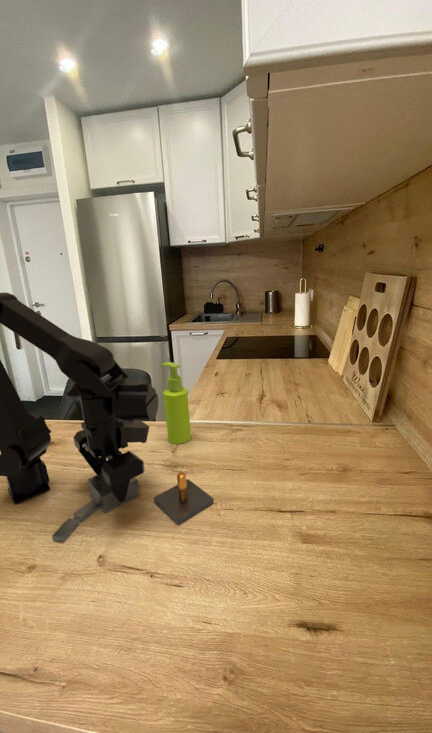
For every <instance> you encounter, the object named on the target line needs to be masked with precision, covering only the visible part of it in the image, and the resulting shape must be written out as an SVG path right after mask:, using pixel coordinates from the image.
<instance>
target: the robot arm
mask: <svg viewBox="0 0 432 733" xmlns="http://www.w3.org/2000/svg"><path fill="white" fill-rule="evenodd" d="M0 324H1V325H2V326H4V327H5V328H7V329H8V330H10V331H12V332H13V333H15V334H16V335H18V336H19V337H21V338H22V339H23V340H25V341H27V342H28V343H30V344H32V345H33V346H34V347H36V348H38V349H39V350H40V351H42V352H43V353H45V354H47V355H48V356H50V357H51V358H52V359H53V360H54V361H55V362H56V365H57V366H58V368H59V370H60V372H61V373H62V374H63V375H65V376H66V377H67V379H69V380H70V381H72V382H73V386H72V388H71V389H70V390H69V391H68V392H66V396H67V397H71V398H73V397H76V398H77V397H78V398H79V402H80V408H81V411H82V419H83V422H81V423H80V424H81V425H80V426H81V428H82V430H79V431H77V432H76V433H75V435H73V443H74V447H76V449H77V450H78V452H79V453H80V455H81V456H82V458H83V459H84V460H85V462H86V463H87V464H88V465H89V467H90V468H91V469H92V471H93V472H94V474H96V475H95V476H97V475H99V474H101V473H102V474H103V477H102V478H103V480H104V481H105V483H106V484H107V485H108V487H109V488H110V489H109V490H111V491H112V492H113V494H114V495H115V497H116V498H117V499H118V501H119V502H120V503H121V502H123V501H125V499H126V495H127V491H128V486H129V483H130V480H131V479H132V478H134V477H135V478H136V477H138V476H141V475H143V474H144V472H145V464H144V462H145V461H144V460H142V458H140V457H139V456H138V455H137V454H136V453H134V452H132V451H130V450H129V451H128V450H127V451H126V452H124V453H123V452H122V451H120V449H121V450H123V449H125V448H127V447H128V448H129V444H130V443H141V444H145V443H147V442H148V441H147V440H148V435H149V432H150V426H149V425H148V424H146V423H145V422H144V421H154V420H155V418H156V416H157V414H158V410H159V394H158V393H157V391H156V389H155V387H153V384H152V381H151V380H141V381H128V380H130V377H129V375H128V374H127V373H126V372H125V371H124V370H123V369H122V367H121V366H120V365H119V363H117V361H116V360H115V359H114V354H113V353H112V352H111V350H109V349H108V348H106V347H105V346H102V345H100V344H99V343H96V342H94V341H92V340H89V339H84V338H80V337H77V336H74V335H72V334H70V333H69V332H67V331H65V330H64V329H63V328H61V327H59V326H58V325H56V324H55V323H53V322H52V321H51V320H49V319H47V318H46V317H44V316H43V315H41V314H40V313H38V312H37V311H35V310H33V308H30V307H29V306H27V305H26V304H24V303H23V302H22V301H20V300H19V299H18V297H16V296H15V295H14V294H13V293H9V292H0ZM108 376H110V378H109V379H107V380H106V381H105V382H104V381H103V380H104V379H106V377H108ZM20 397H21V396H19V394H18V391H17V389H16V388H15V386H14V384H13V382H12V379H11V378H10V375H9V374H8V372H7V370H6V368H5V366H4V364H3V362H2V360H1V359H0V477H6V478H5V479H6V482H7V485H8V488H7V489H8V492H9V495H10V498H11V500H12V502H13V504H14V505H17V504H19V503H22V502H24V501H26V500H29V499H31V498H32V499H33V497H36V496H39V495H40V494H43V493H45V492H49V490H50V489H51V487H50V485H49V483H50V476H49V473H48V468H47V465H46V463H45V462H44V460H42V458H41V457H42V456H43V455H45V454H46V453H47V451H48V447H49V446H50V443H51V441H52V437H51V434H52V430H51V429H50V428H49V427H48V425H47V423H46V420H45V417H44V416H43V415H39V416H35V415H34V414H32V413H30V412H28V410H27V409H26V408H25V406H24V403H23V402H22V400H21V398H20Z"/></svg>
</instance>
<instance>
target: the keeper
mask: <svg viewBox="0 0 432 733" xmlns="http://www.w3.org/2000/svg"><path fill="white" fill-rule="evenodd" d="M176 478H177V479H176V480H177V484H176V485H174V486H173V487H171V488H169V489H166V490H165V491H163V492H161V493H160V494H157V495H155V496H154V497H153V502H154V503H155V504H156V505H157V506H158V508H160V510H162V511H163V512H164V513H165V514H166V515H167V516H168V517H169V518H170V519H171V520H172V521H173V522H175V523H176V525H177V526H180V525H181V524H182V523H184V522H186V521H187V520H189V519H191V518H192V517H193V516H195V515H197V514H199V513H200V512H202V511H203V510H205V509H206V508H208V507H210V506H211V505H213V504H214V499H215V498H214V497H212V496H211V495H210V494H208V493H207V492H206V491H205V490H203V489H202V488H201V487H199V486H198V485H197V484H195V483H194V482H193V481H191V480H190V479H189V478H188V479H187V475H186V472H182V471H181V472H179V473H177V474H176Z"/></svg>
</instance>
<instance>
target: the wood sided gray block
mask: <svg viewBox="0 0 432 733" xmlns="http://www.w3.org/2000/svg"><path fill="white" fill-rule="evenodd" d="M78 525H79V526H80V521H78V520H77V519H74V518H69V517H67V519H66V520H65V521H64V522H63V524H61V525H60V527H59V528H58V529H56V531H55V532H54V533H53V534H52V536H51V537H52V540H53V542H56V543H62V542H64V543H65V542H66V541H67V540H68V539H69V538H70V537H71V535H72V534H73V533H74V532H75V531H76V529H77V528H78V527H79V526H78ZM72 532H73V533H72ZM71 533H72V534H71ZM70 534H71V535H70ZM67 538H68V539H67ZM66 539H67V540H66ZM65 540H66V541H65Z"/></svg>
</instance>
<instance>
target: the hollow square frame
mask: <svg viewBox="0 0 432 733" xmlns="http://www.w3.org/2000/svg"><path fill="white" fill-rule="evenodd" d="M102 477H103V474H102V473H101V474H99V475H95V476H92V477H90V478H88V479H87V484H88V489H89V495H90V497H91V498H92V500H93V501H95V502H97V503H99V509H101V510H102V512H103V513H104V514H107V513H108V512H111V511H113V510H114V509H117V508H119V507H121V506H122V505H124V504H126V503H128V502H131V501H132V500H134V499H136V498H138V497H140V491H139V484H138V479H137V478H136V477H134V478H132V479H131V480H130V483H129V486H128V491H127V495H126V499H125V501H123V502H121V503H120V502H119V501H118V499H117V498H116V497H115V495H114V494H113V492H112V491H111V490H110V488H109V487H108V485H107V484H106V483H105V481H104V480H103V478H102Z"/></svg>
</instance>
